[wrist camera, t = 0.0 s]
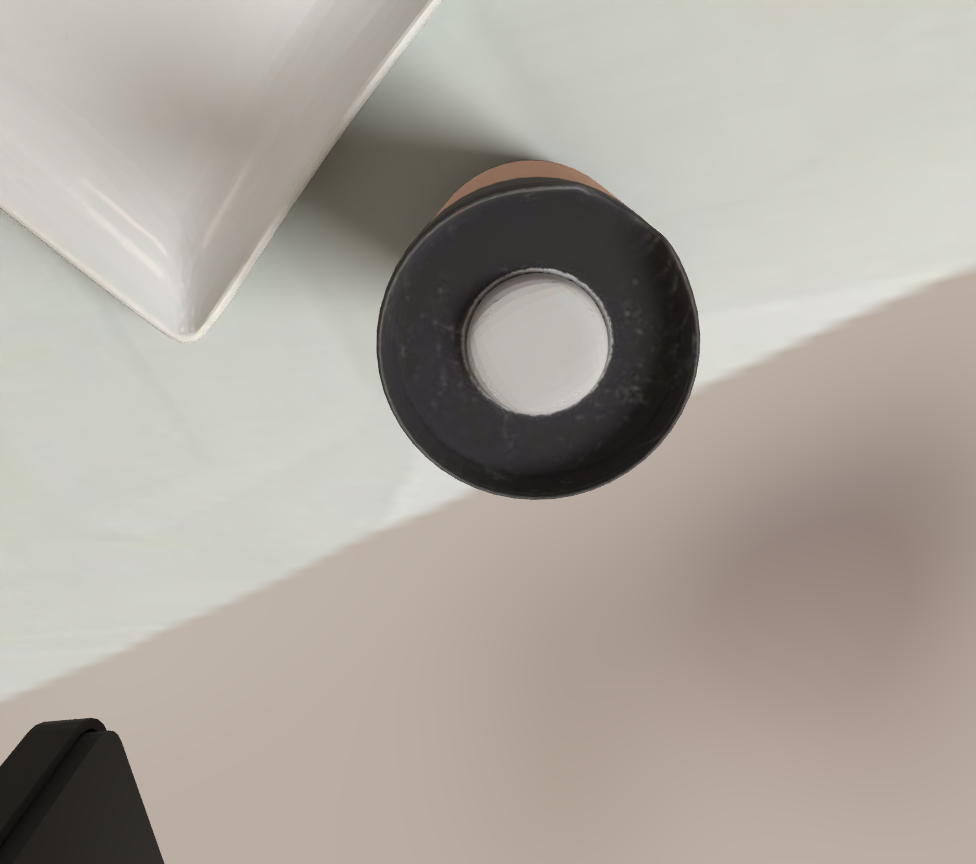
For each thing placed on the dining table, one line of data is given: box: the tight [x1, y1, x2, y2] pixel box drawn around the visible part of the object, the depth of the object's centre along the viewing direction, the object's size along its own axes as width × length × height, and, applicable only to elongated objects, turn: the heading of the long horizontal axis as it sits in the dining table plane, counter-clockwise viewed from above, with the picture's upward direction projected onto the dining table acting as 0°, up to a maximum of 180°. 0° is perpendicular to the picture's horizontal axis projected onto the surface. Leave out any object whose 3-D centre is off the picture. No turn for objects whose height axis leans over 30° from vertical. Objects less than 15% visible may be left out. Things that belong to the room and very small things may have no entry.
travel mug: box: [377, 160, 700, 500], centre depth 28 cm, size 8×8×20 cm
